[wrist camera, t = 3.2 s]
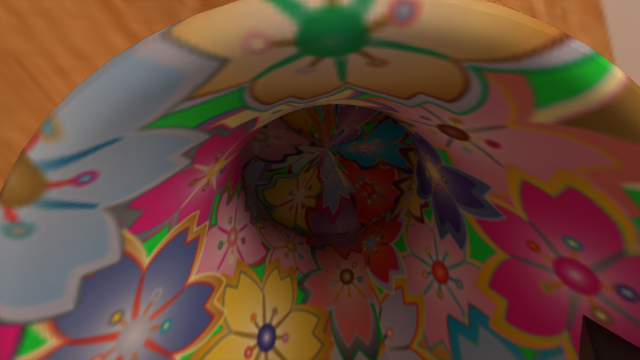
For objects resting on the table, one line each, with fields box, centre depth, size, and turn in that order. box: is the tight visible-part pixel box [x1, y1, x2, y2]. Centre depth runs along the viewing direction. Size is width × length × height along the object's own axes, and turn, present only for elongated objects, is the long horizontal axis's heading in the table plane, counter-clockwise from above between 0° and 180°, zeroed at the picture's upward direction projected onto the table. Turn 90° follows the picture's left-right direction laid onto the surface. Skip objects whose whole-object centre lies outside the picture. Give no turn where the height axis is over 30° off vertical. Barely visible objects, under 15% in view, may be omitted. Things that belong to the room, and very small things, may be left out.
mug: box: [0, 0, 640, 360], centre depth 10 cm, size 12×9×11 cm
